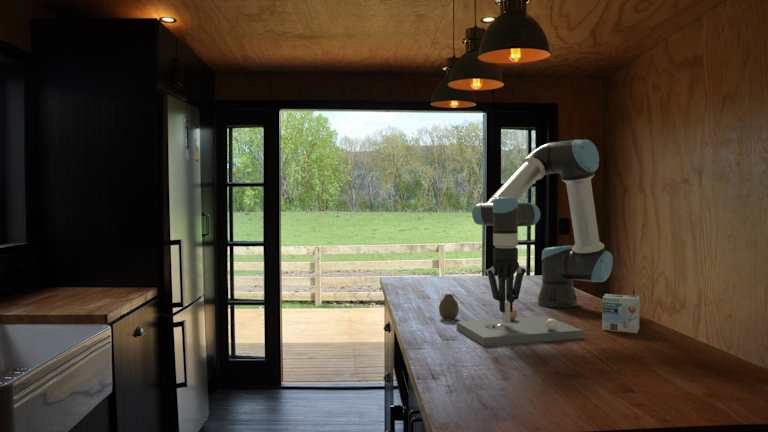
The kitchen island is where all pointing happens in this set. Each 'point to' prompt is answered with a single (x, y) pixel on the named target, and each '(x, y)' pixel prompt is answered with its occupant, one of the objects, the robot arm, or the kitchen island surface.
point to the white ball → (551, 324)
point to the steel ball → (500, 326)
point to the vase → (448, 307)
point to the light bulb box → (620, 313)
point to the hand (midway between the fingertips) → (506, 322)
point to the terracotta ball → (513, 314)
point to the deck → (517, 331)
